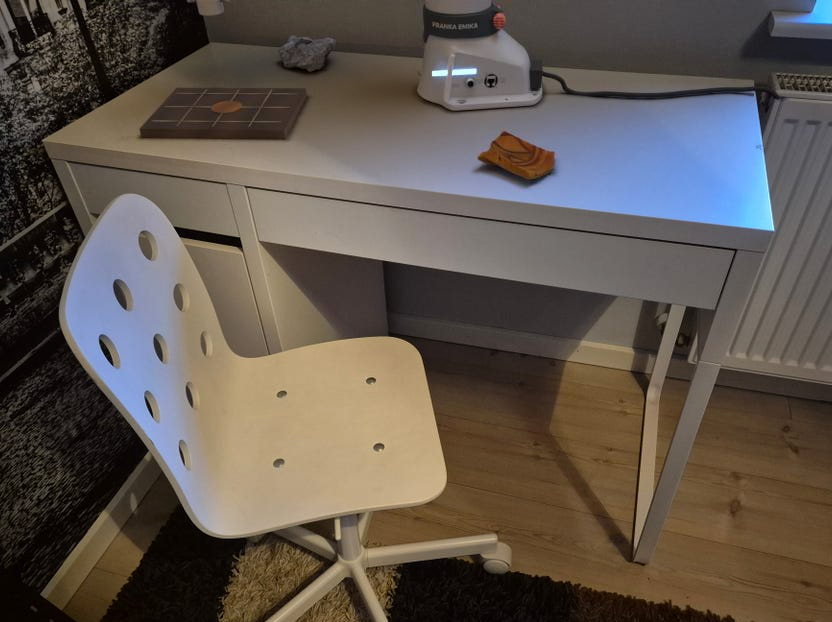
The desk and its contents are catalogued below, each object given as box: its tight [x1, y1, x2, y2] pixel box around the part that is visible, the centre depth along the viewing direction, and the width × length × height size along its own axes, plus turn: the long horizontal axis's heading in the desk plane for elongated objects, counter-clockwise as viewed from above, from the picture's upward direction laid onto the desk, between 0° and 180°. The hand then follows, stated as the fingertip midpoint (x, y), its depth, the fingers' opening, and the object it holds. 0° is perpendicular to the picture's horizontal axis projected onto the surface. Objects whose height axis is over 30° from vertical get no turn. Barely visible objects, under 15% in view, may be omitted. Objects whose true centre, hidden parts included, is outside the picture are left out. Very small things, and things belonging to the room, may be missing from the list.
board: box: [139, 87, 308, 140], centre depth 115 cm, size 24×18×2 cm
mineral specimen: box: [277, 34, 337, 72], centre depth 132 cm, size 6×11×12 cm
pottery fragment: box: [477, 130, 556, 180], centre depth 97 cm, size 10×5×10 cm
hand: (209, 1), depth 111 cm, fingers closed on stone, 4 cm apart
